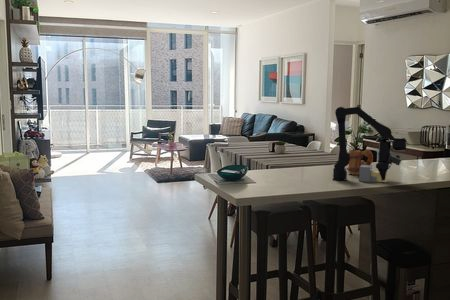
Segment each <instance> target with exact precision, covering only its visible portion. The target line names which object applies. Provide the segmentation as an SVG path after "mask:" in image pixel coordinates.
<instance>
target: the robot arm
mask: <svg viewBox="0 0 450 300" xmlns="http://www.w3.org/2000/svg"><path fill="white" fill-rule="evenodd" d="M334 111H335V112H334V114H335V118H336V121H337V127H338V128H337V129H338V144H339V151H338V158H337V160H336V162H334V164H333V166H334V167H333V170H332V171H333V173H332V175H333V176H332V180H333V181H341V182H342V181H344V182H345V181H346V180H347V179H348V170H347V166H349V161H350V152H349V151H348V149H347V137H346V118H347V116H351V115H357V116H358V117H359V118H361V119H363V121H365V122H366V123H367V124H368V125H370V126H371V127H372V128H373V129H374V130H375V131H376V133H378V134H379V136H380V137H378V138H377V139H376V140H375V142H376V143H379V144H378V147H379V148H378V154H377V155H378V160H377V163H376V164H375V168H376V170H378V171H377V172H379V173H380V175H381V178H382V180H385V176H386V172H387V173H388V170H389V169H390V168H391V166H392V165H393V164H395V165H396V166H400V165H401V162H402V160H403V159H402V158H401V155H398V154H396V155H393V154H392V152H391V149H392V150H393V151H394V152H406V150H407V142H406V138H405V137H401V138H400V137H399V138H397V137H396V138H395V136H393V134H392V129H391V128H390V127H388V126H386V125H385V124H382V123H380V122H378V121H377V120H376V119H375V118H374V117H372V116H371V115H370V114H368V113H367V112H365V110H363V109H362V108H361V107H360V106H355V107H354V106H353V107H343V106H339V107H337V108H336V109H335V110H334ZM381 137H382V138H381ZM387 139H388V140H387Z"/></svg>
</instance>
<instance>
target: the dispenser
mask: <svg viewBox="0 0 450 300" xmlns="http://www.w3.org/2000/svg"><path fill="white" fill-rule="evenodd" d="M371 171H373V165H372V164H371V165H361V166H360V172H359V174H358V175H359V177H358V178H359V179H358V180H359V182H365V181H366V182H367V183H370V182H371V183H373V182H374V183H377V181H376V178H377V177H371Z"/></svg>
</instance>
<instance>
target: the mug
mask: <svg viewBox="0 0 450 300" xmlns="http://www.w3.org/2000/svg"><path fill="white" fill-rule="evenodd" d="M348 152H350V161H349V164H348V167H346V171H347V174H349V175H351V174H352V175H351V176H355V175H356V176H358V175H359V172H360V166H361V165H372V163H373V161H374V154H373V153H372V150H370V149H368V148H367V149H365V150H364V151H363V150H362V151H361V149H358V150H357V149H349V151H348ZM364 157H367V160H366V162H362V158H364Z"/></svg>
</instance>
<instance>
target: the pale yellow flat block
mask: <svg viewBox="0 0 450 300" xmlns="http://www.w3.org/2000/svg"><path fill="white" fill-rule="evenodd" d="M387 175H388V171H387V172H386V176H385V180H382V178H381V175H380V173H379V171H374V170H372V171H371V177H377V178H376V183H377V182H379V183H387V180H388V179H387Z"/></svg>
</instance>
